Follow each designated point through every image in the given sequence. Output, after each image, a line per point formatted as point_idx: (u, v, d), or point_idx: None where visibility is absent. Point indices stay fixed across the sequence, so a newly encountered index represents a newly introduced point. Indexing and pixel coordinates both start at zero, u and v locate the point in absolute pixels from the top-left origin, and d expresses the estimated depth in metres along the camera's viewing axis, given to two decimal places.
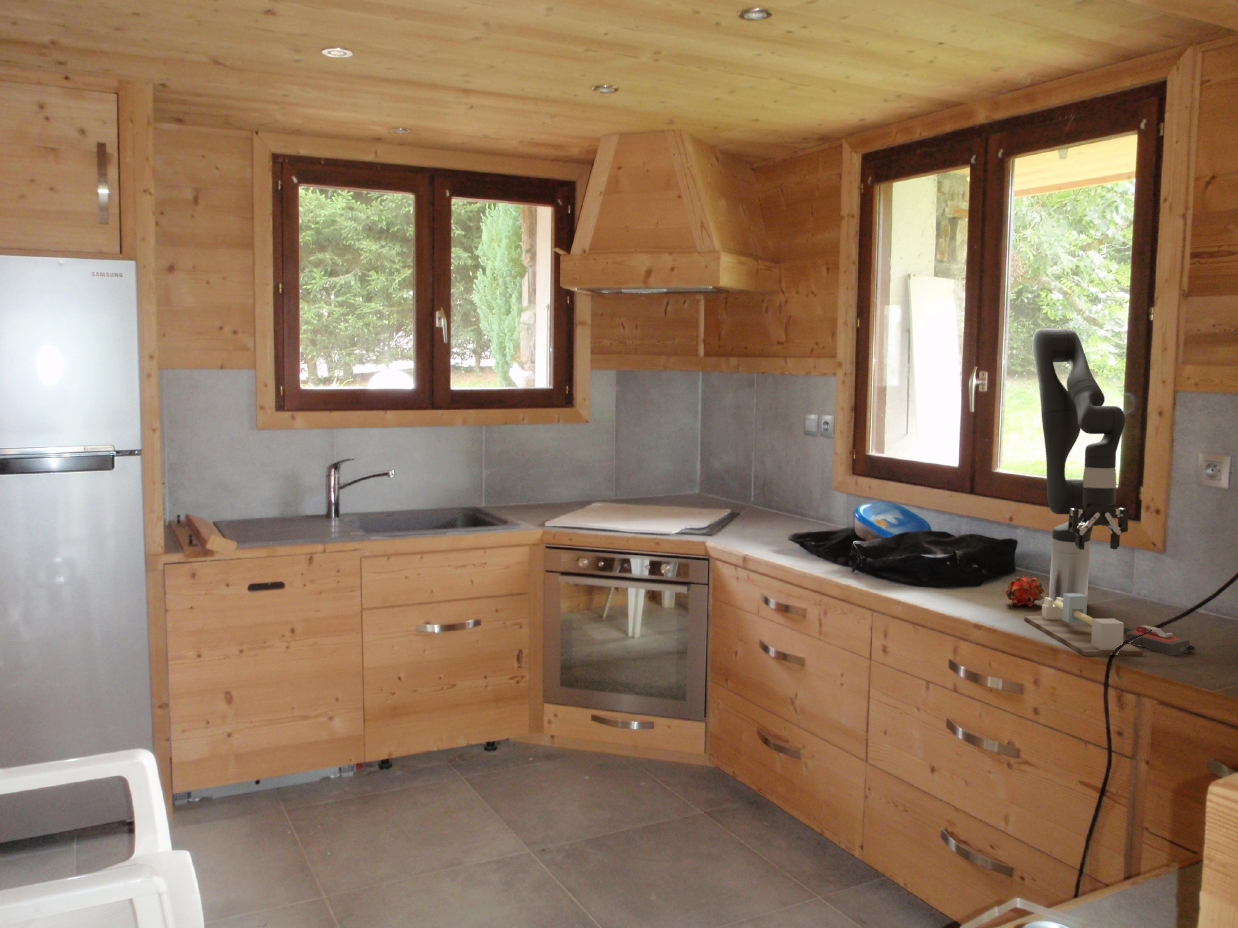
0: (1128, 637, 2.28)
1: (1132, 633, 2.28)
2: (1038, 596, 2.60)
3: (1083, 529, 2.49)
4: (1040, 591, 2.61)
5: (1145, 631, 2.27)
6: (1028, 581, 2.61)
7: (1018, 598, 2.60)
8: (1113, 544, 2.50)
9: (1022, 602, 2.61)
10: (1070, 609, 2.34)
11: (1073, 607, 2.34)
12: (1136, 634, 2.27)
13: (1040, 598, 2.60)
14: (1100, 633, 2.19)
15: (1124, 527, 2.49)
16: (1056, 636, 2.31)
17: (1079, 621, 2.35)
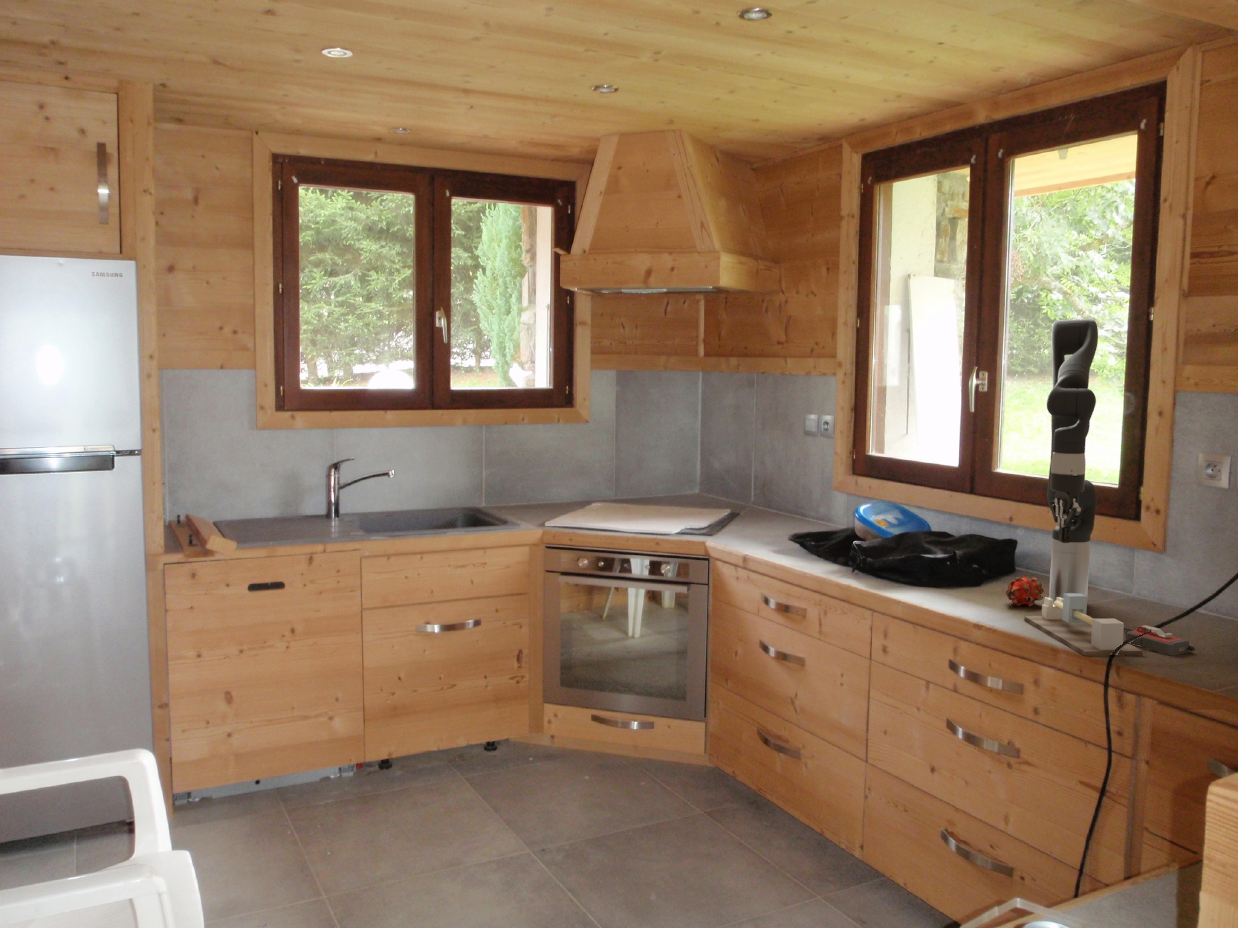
0: (1128, 637, 2.28)
1: (1132, 633, 2.28)
2: (1038, 596, 2.60)
3: None
4: (1040, 591, 2.61)
5: (1145, 631, 2.27)
6: (1028, 581, 2.61)
7: (1018, 598, 2.60)
8: None
9: (1022, 602, 2.61)
10: (1070, 609, 2.34)
11: (1073, 607, 2.34)
12: (1136, 634, 2.27)
13: (1040, 598, 2.60)
14: (1100, 633, 2.19)
15: None
16: (1056, 636, 2.31)
17: (1079, 621, 2.35)
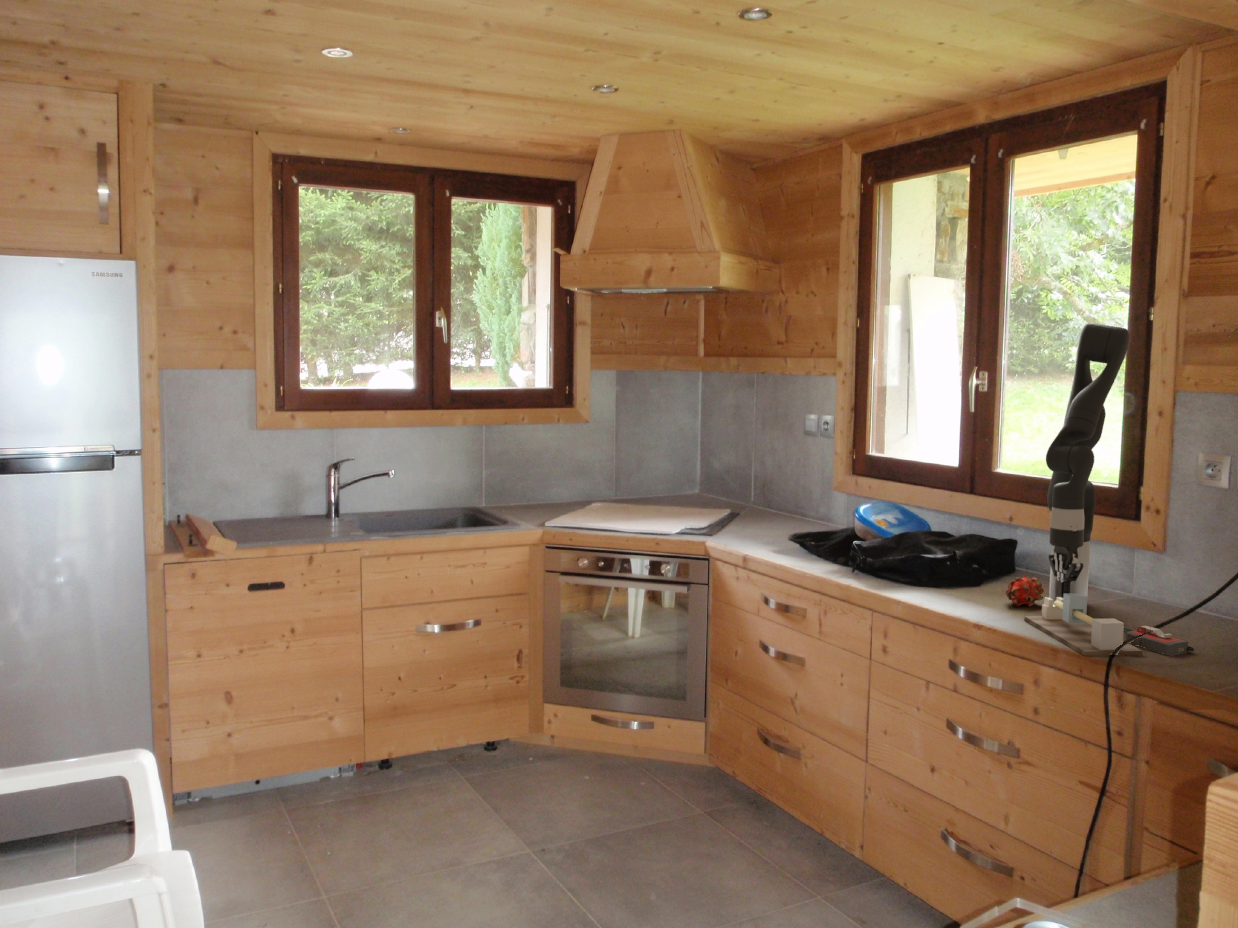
0: (1128, 637, 2.28)
1: (1132, 633, 2.28)
2: (1038, 596, 2.60)
3: None
4: (1040, 591, 2.61)
5: (1145, 631, 2.27)
6: (1028, 581, 2.61)
7: (1018, 598, 2.60)
8: None
9: (1022, 602, 2.61)
10: (1070, 609, 2.34)
11: (1073, 607, 2.34)
12: (1135, 634, 2.27)
13: (1040, 598, 2.60)
14: (1100, 633, 2.19)
15: None
16: (1056, 636, 2.31)
17: (1079, 621, 2.35)
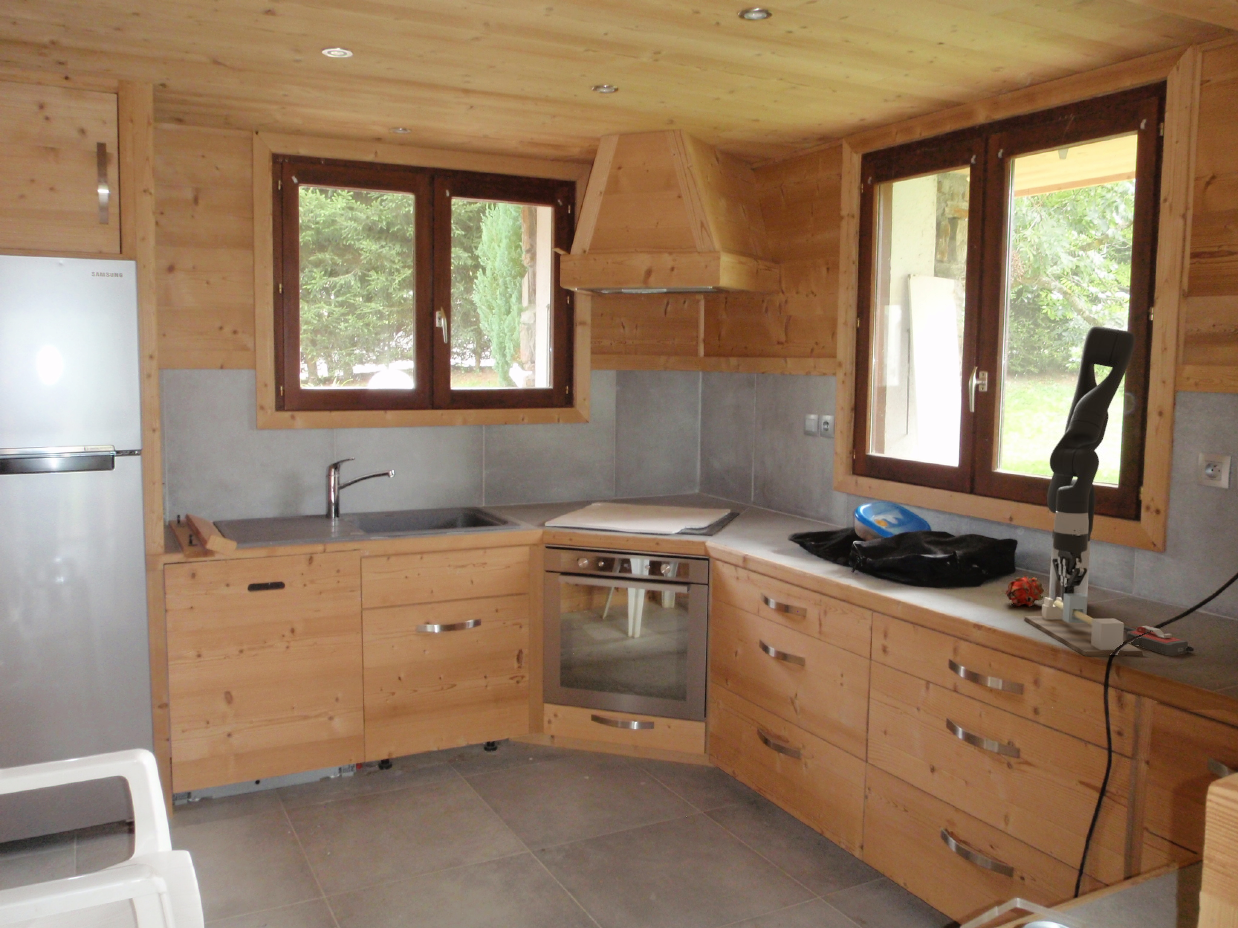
0: (1127, 637, 2.28)
1: (1131, 633, 2.28)
2: (1038, 596, 2.60)
3: None
4: (1040, 591, 2.61)
5: (1145, 631, 2.27)
6: (1028, 581, 2.61)
7: (1018, 598, 2.60)
8: None
9: (1022, 602, 2.61)
10: (1070, 609, 2.34)
11: (1073, 607, 2.34)
12: (1135, 634, 2.27)
13: (1040, 598, 2.60)
14: (1100, 633, 2.19)
15: None
16: (1056, 636, 2.31)
17: (1079, 621, 2.34)
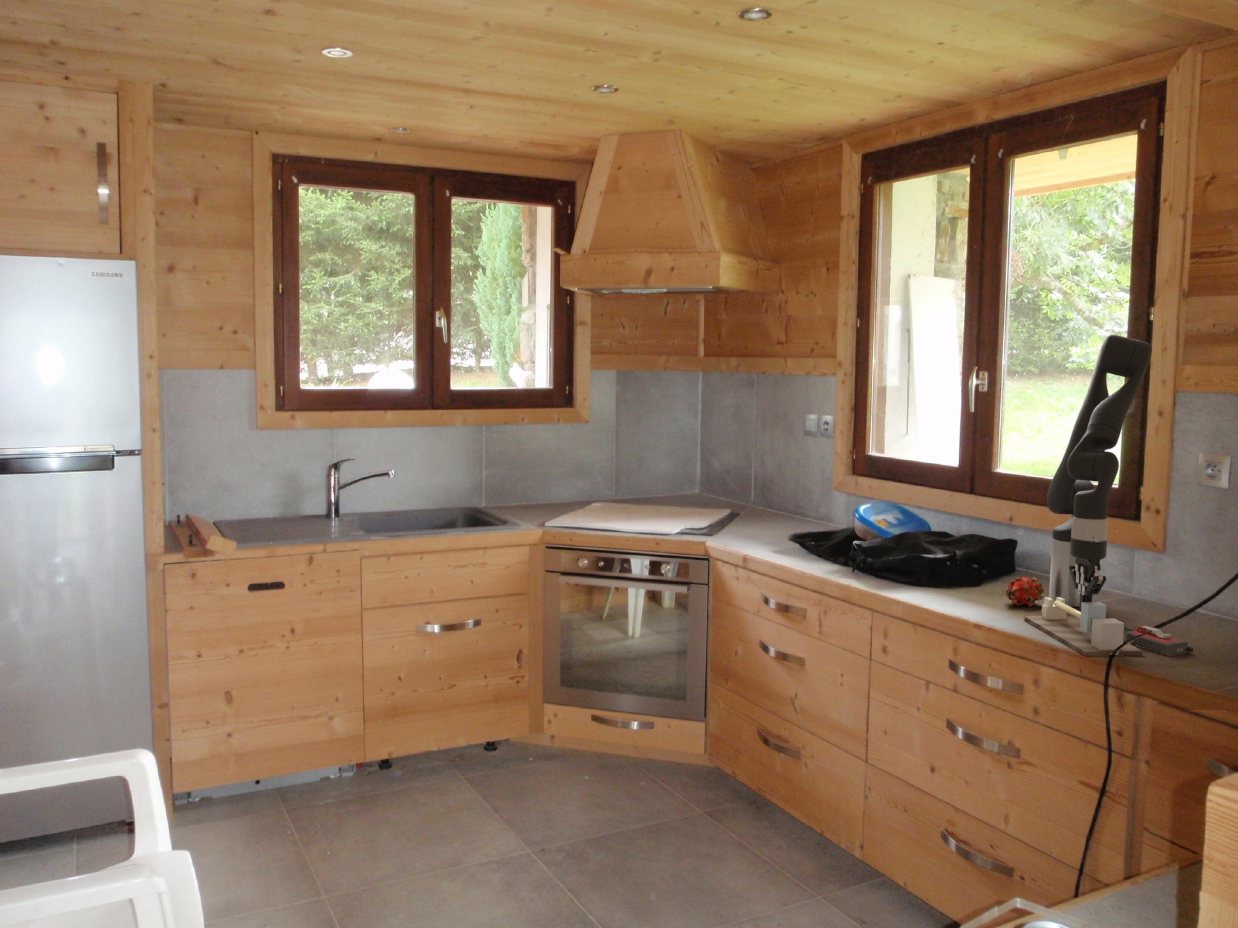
0: (1127, 637, 2.28)
1: (1131, 633, 2.27)
2: (1038, 596, 2.60)
3: None
4: (1040, 591, 2.61)
5: (1145, 632, 2.26)
6: (1028, 581, 2.61)
7: (1018, 598, 2.60)
8: None
9: (1022, 602, 2.61)
10: (1088, 618, 2.26)
11: (1092, 616, 2.26)
12: (1135, 634, 2.27)
13: (1040, 598, 2.60)
14: (1100, 633, 2.19)
15: None
16: (1056, 636, 2.31)
17: None
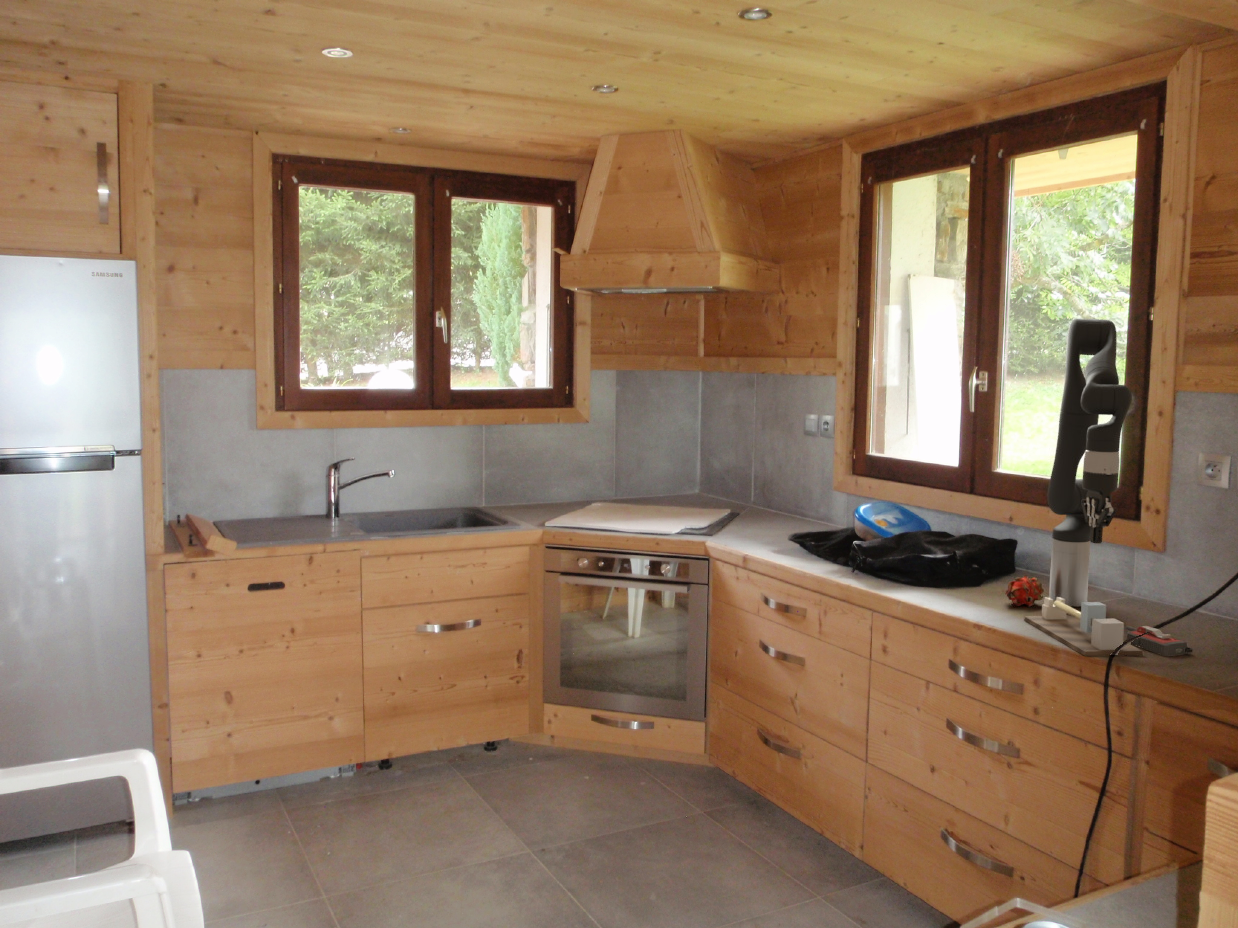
0: (1127, 637, 2.28)
1: (1131, 633, 2.27)
2: (1038, 596, 2.60)
3: None
4: (1040, 591, 2.61)
5: (1145, 632, 2.26)
6: (1028, 581, 2.61)
7: (1018, 598, 2.60)
8: None
9: (1022, 602, 2.61)
10: (1088, 618, 2.26)
11: (1092, 616, 2.26)
12: (1135, 634, 2.26)
13: (1040, 598, 2.60)
14: (1100, 633, 2.19)
15: None
16: (1056, 636, 2.31)
17: None
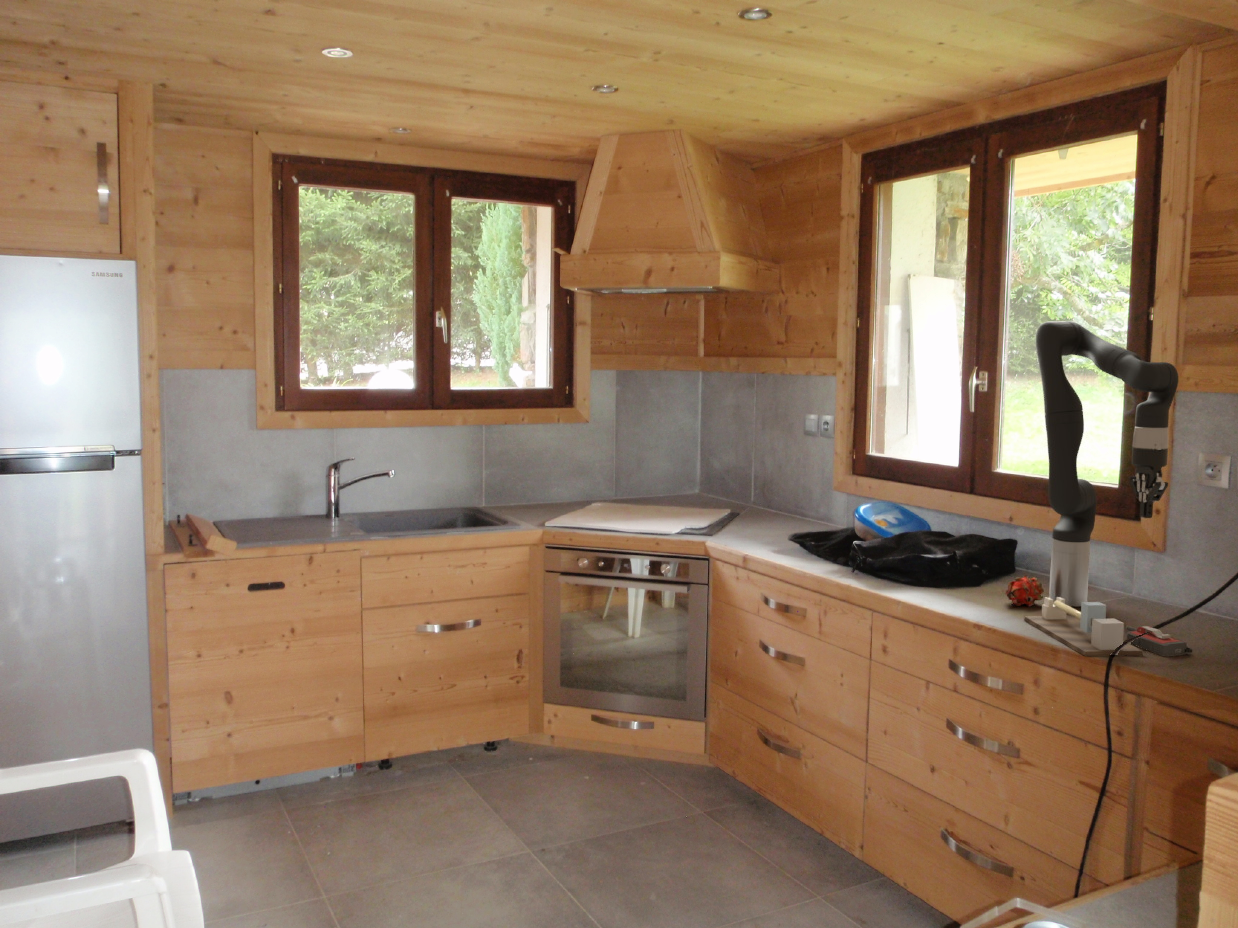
0: (1127, 637, 2.28)
1: (1131, 633, 2.27)
2: (1038, 596, 2.60)
3: None
4: (1040, 591, 2.61)
5: (1145, 632, 2.26)
6: (1028, 581, 2.61)
7: (1018, 598, 2.60)
8: None
9: (1022, 602, 2.61)
10: (1088, 618, 2.26)
11: (1092, 616, 2.26)
12: (1135, 634, 2.26)
13: (1040, 598, 2.60)
14: (1100, 633, 2.19)
15: None
16: (1056, 636, 2.31)
17: None
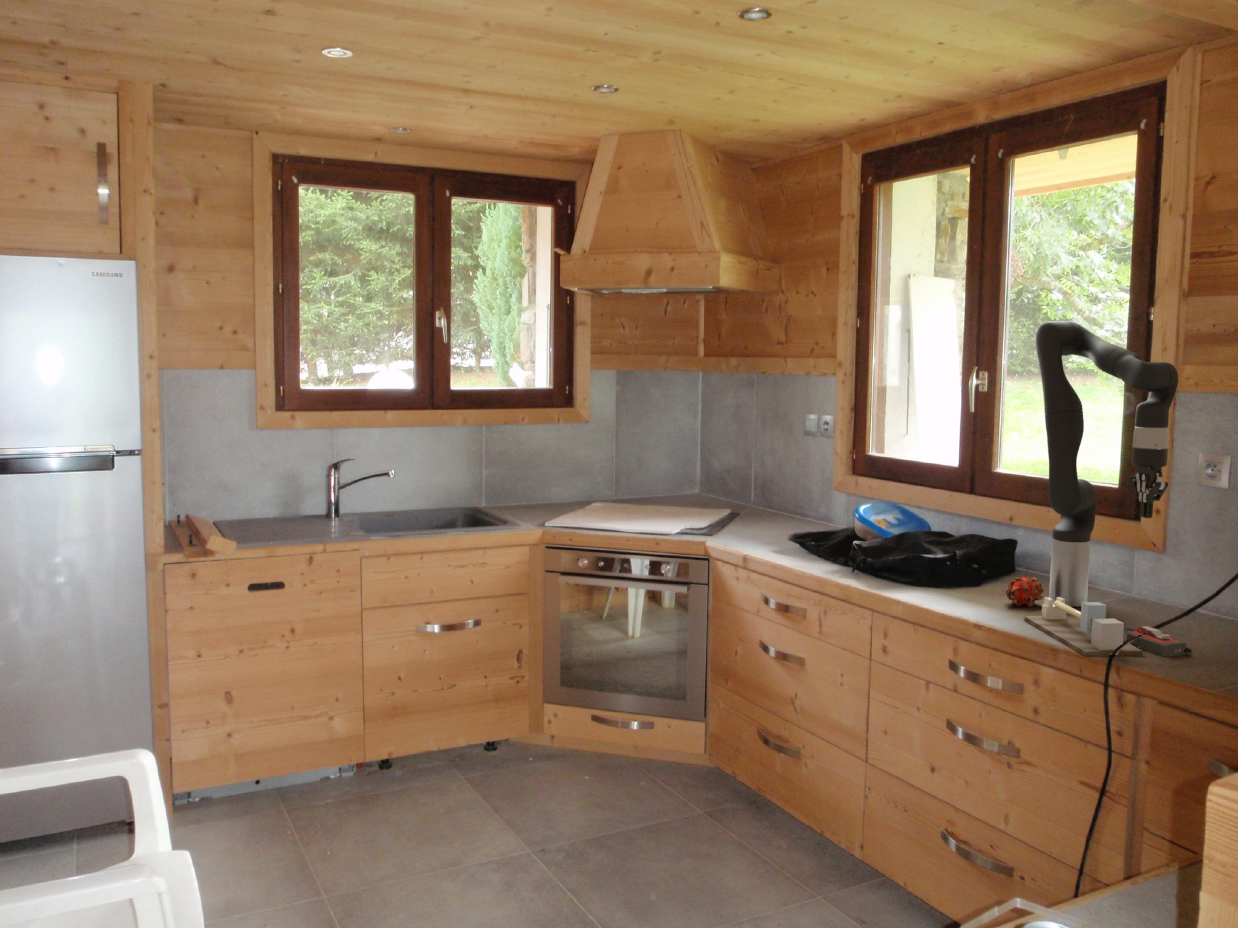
0: (1127, 637, 2.28)
1: (1131, 633, 2.27)
2: (1038, 596, 2.60)
3: None
4: (1040, 591, 2.61)
5: (1144, 632, 2.26)
6: (1028, 581, 2.61)
7: (1018, 598, 2.60)
8: None
9: (1022, 602, 2.61)
10: (1088, 618, 2.26)
11: (1092, 616, 2.26)
12: (1134, 634, 2.26)
13: (1040, 598, 2.60)
14: (1100, 633, 2.19)
15: None
16: (1056, 636, 2.31)
17: None
